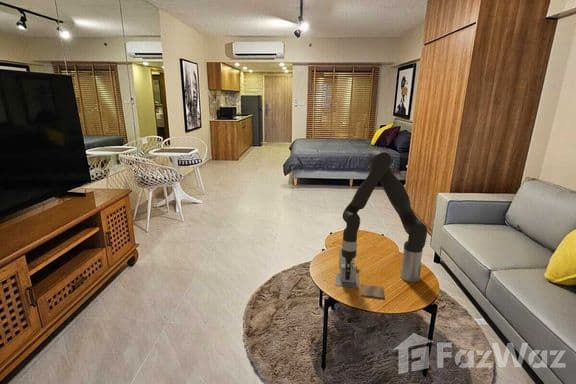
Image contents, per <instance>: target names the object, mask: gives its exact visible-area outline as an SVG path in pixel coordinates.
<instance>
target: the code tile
mask: <svg viewBox="0 0 576 384" xmlns="http://www.w3.org/2000/svg"><path fill="white" fill-rule="evenodd" d="M359 280H360V276H359V275H357V274H356V282H341V281H340V272H337V273H336V276H335V284H334V285H335V286H336V287H345V288H351V289H352V288H354V289H359V288H360V281H359Z"/></svg>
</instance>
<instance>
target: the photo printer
mask: <svg viewBox="0 0 576 384" xmlns="http://www.w3.org/2000/svg"><path fill="white" fill-rule="evenodd" d="M338 252H339V253H338V266H340V264H345V258H344V257H343V256H342V246H341V247H339V251H338ZM352 264H355V258H352Z"/></svg>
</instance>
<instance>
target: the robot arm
mask: <svg viewBox="0 0 576 384" xmlns="http://www.w3.org/2000/svg"><path fill="white" fill-rule="evenodd" d="M392 161H393V159H392V156H391V155H390V154H389V152H387V151H383V150H378V149H376V150H372V151H371V152H370V153H369V154H368V158H367V162H368V164H369V166H370V167H371V168H370V172H369V173H368V174H367V176H366V177H365V179H364V180H363V181H362V183H361V184H360V185H359V186H358V188H357V189H356V192H355V194H354V195H353V197H352V200H351V201H350V202H349V203H348V205H347V206H346V207H345V209H344V211H343V213H342V219H343V221H344V222H345V223H346V226H345V228H344V229H343V231H342V232H343V234H342V242H341V247H342V256H343V257H344V258H345V269H346V272H345V274H346V275H345V279H346V280H350V274H351V272H350V270H351V268H352V264H353V263H352V258H354V259H356V257H357V250H358V241H357V240H358V232H359V229H360V225H361V217H360V215H359V214H358V212H359V211H360V210H363V209H364V208H365V207H366V205H367V204H368V202H369V199H370V197H371V196H372V194H373V192H374V190H375V189H376V187H377V185H379V182H380V185H381V187H382V188H383V191H384V192H385V195H386V196H387V199H388V201H389V202H390V204H391V206H392V208H393V209H394V210H395V212H396V213H397V215H398V216H399V219H400V222H401V224H402V226H403V230H404V231H405V233H406V234H407V235H408V236H407V238H408V239H407V240H406V241H405V242H404V244H403V251H402V252H403V253H402V259H401V271H400V278H401V279H402V280H403V281H405V282H408V283H409V282H410V283H416V282H420V280H421V273H422V272H421V271H422V266H423V265H422V258H423V257H422V256H423V249H424V248H425V245H426V241H427V235H428V227H427V226H426V224H424V223H423V222H422V221H421V220H420V219H419V218H418V217H417V215H416V214H415V213H414V211H413V209H412V206H411V200H410V196H409V194H408V193H407V190H406V188H405V187H404V185H403V183H402V182H401V181H400V180H399V178H398V177H397V176H396V175H395V173H393V171H392V169H391V164H392ZM347 270H349V271H347Z"/></svg>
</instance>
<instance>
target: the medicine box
mask: <svg viewBox="0 0 576 384" xmlns="http://www.w3.org/2000/svg"><path fill="white" fill-rule="evenodd" d="M357 269H358V268H357V267H356V264H355V263H352V268H351V270H350V272H351V274H350V280H346V279H345V275H346V274H345V272H346V269H345V264H340V265H339V274H340V281H341V282H356V275H357ZM347 271H349V270H347Z"/></svg>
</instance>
